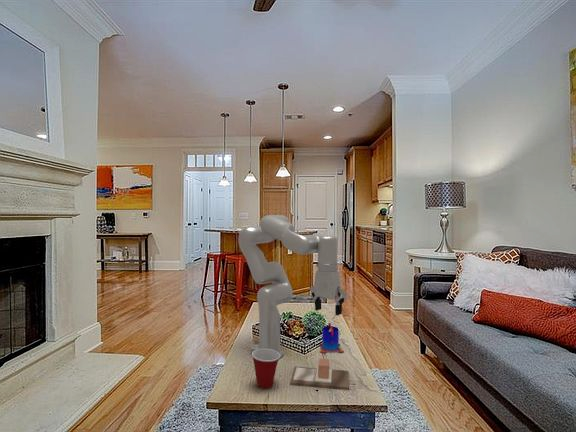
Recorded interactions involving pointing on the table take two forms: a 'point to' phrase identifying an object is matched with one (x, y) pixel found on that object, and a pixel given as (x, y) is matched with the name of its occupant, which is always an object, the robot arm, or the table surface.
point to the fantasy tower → (330, 340)
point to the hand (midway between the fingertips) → (328, 312)
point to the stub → (323, 371)
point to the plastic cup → (265, 366)
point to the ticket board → (307, 378)
